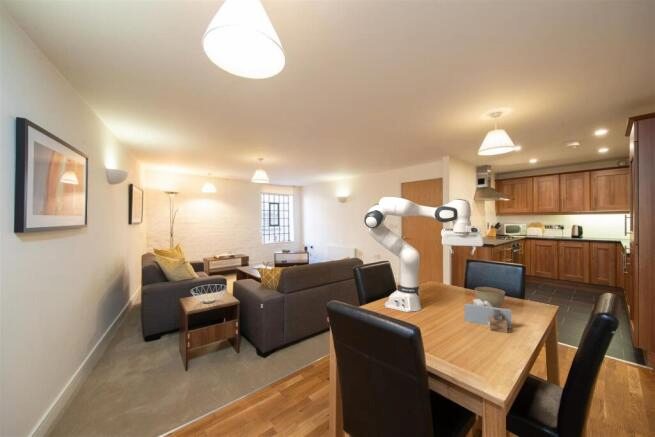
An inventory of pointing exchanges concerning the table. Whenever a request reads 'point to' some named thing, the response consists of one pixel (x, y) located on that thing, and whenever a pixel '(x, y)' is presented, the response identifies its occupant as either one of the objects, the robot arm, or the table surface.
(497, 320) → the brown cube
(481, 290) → the planter bowl
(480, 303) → the wall hook
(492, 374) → the table surface
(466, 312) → the wall board
